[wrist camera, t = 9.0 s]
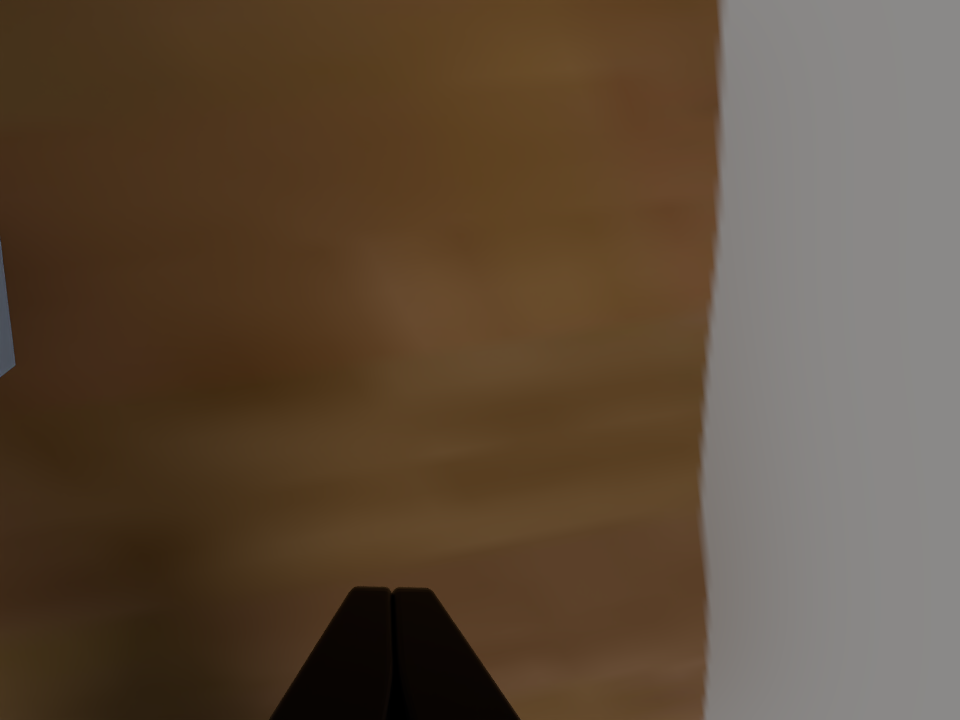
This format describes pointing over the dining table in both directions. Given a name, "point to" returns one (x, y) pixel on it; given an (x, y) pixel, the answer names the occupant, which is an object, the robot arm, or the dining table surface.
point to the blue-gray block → (5, 326)
